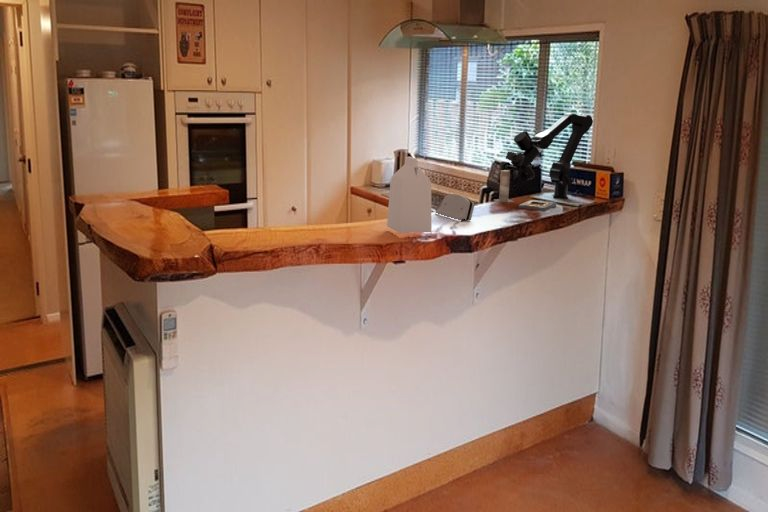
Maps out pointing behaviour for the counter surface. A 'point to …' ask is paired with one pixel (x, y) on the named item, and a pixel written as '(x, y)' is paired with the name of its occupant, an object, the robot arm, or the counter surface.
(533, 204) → the rack plate
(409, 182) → the milk
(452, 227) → the counter surface
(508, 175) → the peg
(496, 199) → the pad
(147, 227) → the counter surface
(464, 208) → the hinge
